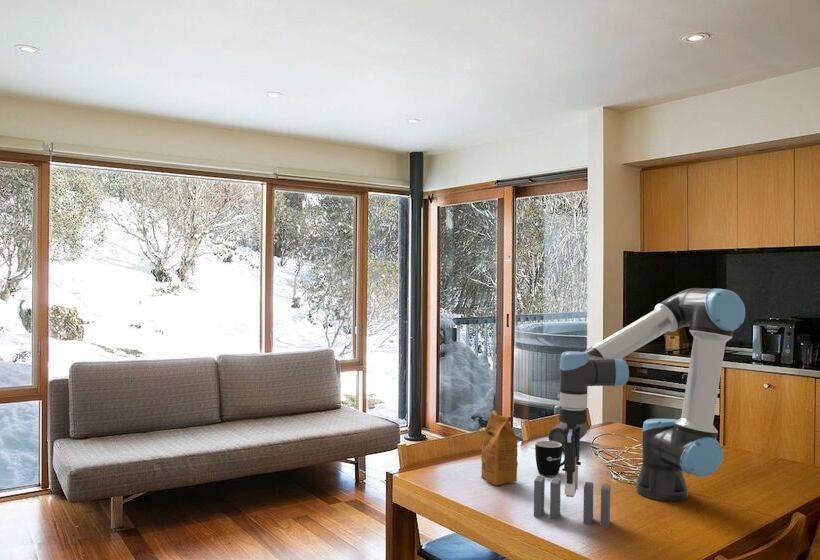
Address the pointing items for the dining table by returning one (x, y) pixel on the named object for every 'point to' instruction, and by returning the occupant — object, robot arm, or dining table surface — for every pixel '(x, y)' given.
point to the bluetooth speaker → (558, 433)
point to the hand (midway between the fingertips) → (571, 491)
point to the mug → (548, 457)
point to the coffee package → (499, 451)
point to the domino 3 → (575, 479)
